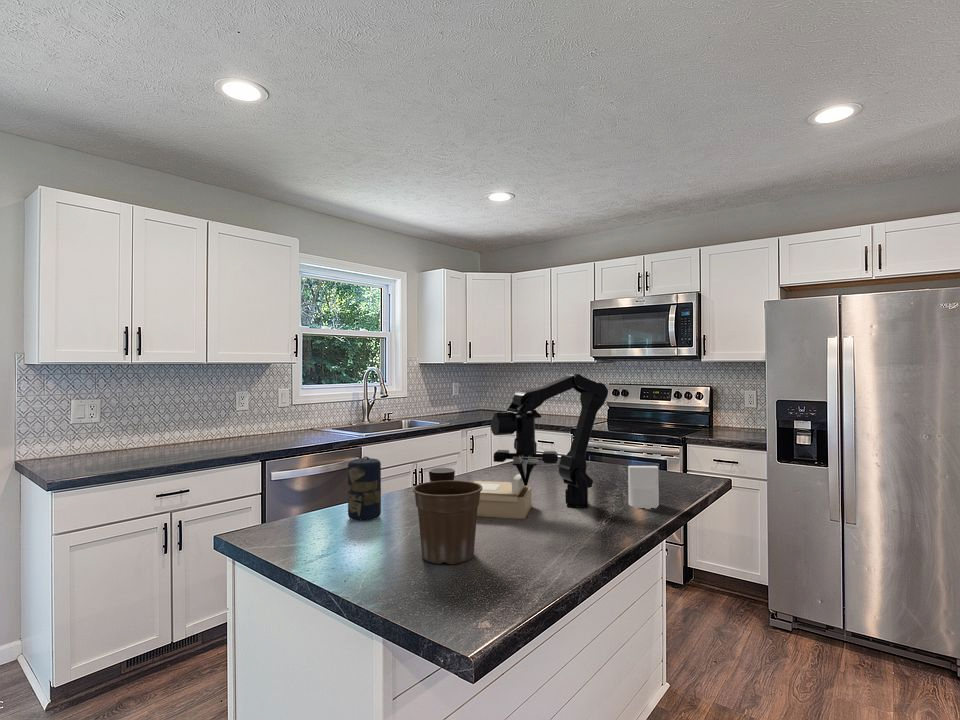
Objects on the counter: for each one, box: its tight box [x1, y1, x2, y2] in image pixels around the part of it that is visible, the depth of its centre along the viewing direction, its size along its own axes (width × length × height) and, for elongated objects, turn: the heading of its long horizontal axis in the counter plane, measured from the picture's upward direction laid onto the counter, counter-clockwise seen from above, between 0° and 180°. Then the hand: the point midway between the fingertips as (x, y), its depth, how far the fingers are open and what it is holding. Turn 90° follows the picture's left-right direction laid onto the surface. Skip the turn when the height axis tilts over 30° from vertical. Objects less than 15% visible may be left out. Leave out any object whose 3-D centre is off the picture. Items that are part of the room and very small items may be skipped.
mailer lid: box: [473, 473, 526, 502], centre depth 165 cm, size 16×16×5 cm
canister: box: [347, 456, 382, 522], centre depth 159 cm, size 10×10×18 cm
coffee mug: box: [428, 467, 456, 482], centre depth 180 cm, size 12×9×10 cm
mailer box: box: [477, 486, 533, 520], centre depth 165 cm, size 16×14×6 cm
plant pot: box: [412, 479, 482, 565], centre depth 127 cm, size 16×16×16 cm
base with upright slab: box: [627, 465, 660, 510], centre depth 170 cm, size 9×9×12 cm
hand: (526, 485), depth 163 cm, fingers closed
